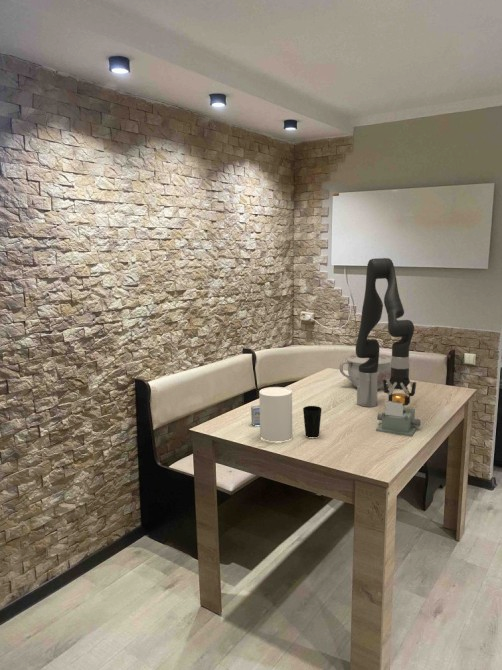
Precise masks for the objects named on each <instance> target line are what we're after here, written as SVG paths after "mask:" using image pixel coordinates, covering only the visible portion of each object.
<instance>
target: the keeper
mask: <svg viewBox="0 0 502 670" xmlns="http://www.w3.org/2000/svg"><path fill="white" fill-rule="evenodd" d="M384 404H385V405H384V406H385V411H386V417H390V418H398V419H403V407H404V406H403V403H400V402H392V401H388V400H385V403H384Z"/></svg>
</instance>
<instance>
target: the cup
mask: <svg viewBox="0 0 502 670" xmlns="http://www.w3.org/2000/svg"><path fill="white" fill-rule="evenodd" d="M302 412H303V423H304V424H303V425H304V431H305V437H306V436H308V437H318V436H319V437H320V430H321V429H320V428H321V418H322V417H321V416H322V407H320V406H317V405H308V406H304V407H303V408H302ZM308 437H307V438H308ZM319 437H318V438H319Z"/></svg>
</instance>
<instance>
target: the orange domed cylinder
mask: <svg viewBox="0 0 502 670" xmlns="http://www.w3.org/2000/svg"><path fill="white" fill-rule="evenodd" d="M392 402H400V403H403V407H405V406H407V405H406V394H405V393H402V392H400V393H399V392H396V393H392Z"/></svg>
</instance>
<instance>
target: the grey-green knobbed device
mask: <svg viewBox="0 0 502 670" xmlns="http://www.w3.org/2000/svg"><path fill="white" fill-rule="evenodd" d="M415 417H416V408H412V407H405V406H403V419H398V418H390V417H386V410H385V411H383V412H381V413H377V417H376V419H377V421H380V422H381V423H380V424H379V425H378V426H377V427H376V429H375V431H376V432H380V433H387V434H392V435H393V434H394V435H400V436H406V437H413V435H414V434H415V432H416V430H417V429H418V427H420V426H421V424H422V423H421V419H419V418H415Z"/></svg>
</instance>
